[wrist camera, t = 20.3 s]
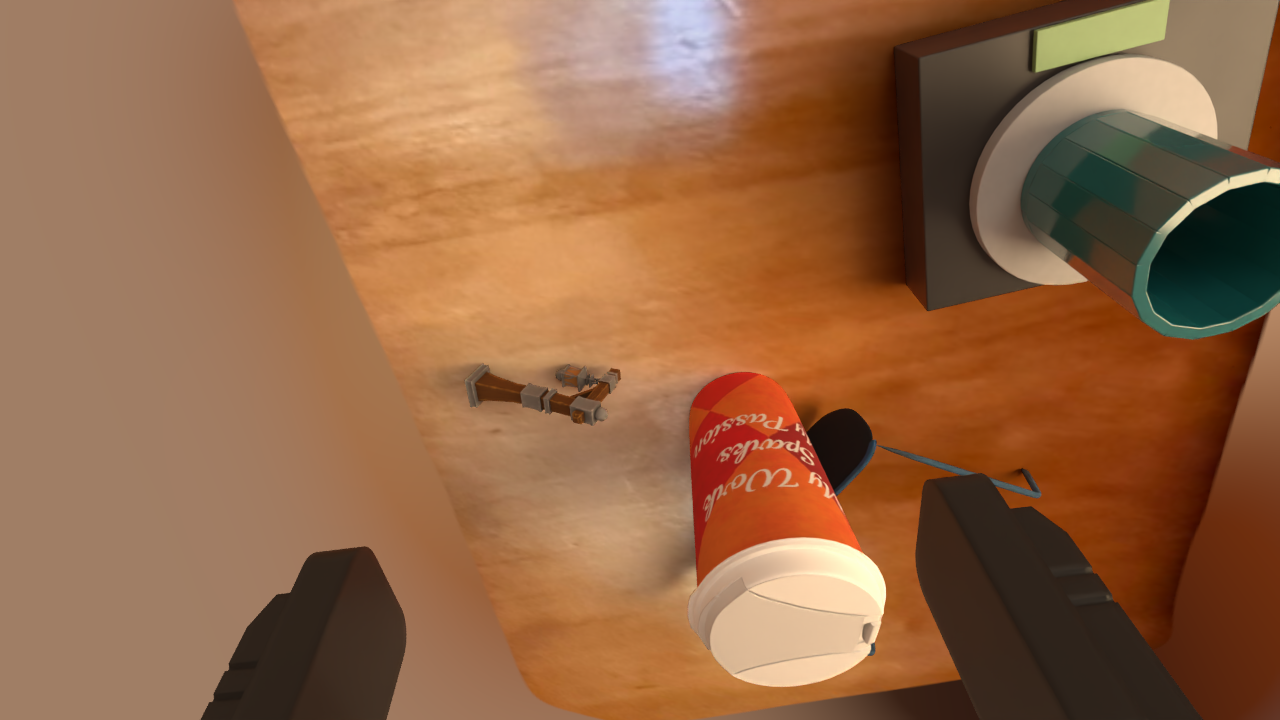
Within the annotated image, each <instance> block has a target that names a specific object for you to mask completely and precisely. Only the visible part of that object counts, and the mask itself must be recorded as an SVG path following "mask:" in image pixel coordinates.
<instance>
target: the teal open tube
mask: <svg viewBox="0 0 1280 720" xmlns="http://www.w3.org/2000/svg"><path fill="white" fill-rule="evenodd" d="M1021 212H1022V218H1023V220H1024V223H1025V225H1026V227H1027V229H1028V231H1029V232H1030V233H1031V234H1032V235H1033V237H1035V238H1036V239H1037V241H1038V242H1040V243H1041V244H1042V245H1044V246H1045V247H1046V248H1047V249H1049V250H1050V251H1051V252H1053V253H1054V254H1055V255H1057V256H1058V257H1059V258H1060V259H1062V260H1063V261H1064V262H1066V263H1067V264H1068V265H1069V266H1071V267H1072V268H1073V269H1075V270H1076V271H1077V272H1078V273H1080V274H1081V275H1082V276H1084V277H1085V278H1086V279H1087V280H1089V281H1090V282H1091V283H1093V284H1094V285H1095V286H1097V287H1098V288H1099V289H1100V290H1102V291H1103V292H1104V293H1106V294H1107V295H1108V296H1109V297H1111V298H1112V299H1113V300H1115V301H1116V302H1117V303H1118V304H1120V305H1121V306H1122V307H1124V308H1125V309H1126V310H1128V311H1129V312H1130V313H1131V314H1133V315H1134V316H1135V317H1137V318H1138V319H1139V320H1140V321H1142V322H1143V323H1145V324H1146V325H1148V326H1149V327H1151V328H1152V329H1154V330H1155V331H1157V332H1158V333H1160V334H1161V335H1163V336H1168V337H1177V338H1185V339H1193V340H1194V339H1200V338H1204V337H1209V336H1214V335H1218V334H1223V333H1227V332H1230V331H1233V330H1235V329H1237V328H1239V327H1241V326H1243V325H1245V324H1247V323H1249V322H1251V321H1253V320H1255V319H1257V318H1259V317H1261V316H1263V315H1265V314H1266V313H1268V312H1269V311H1271V310H1272V309H1273V308H1274V307H1275V306H1277V305H1278V304H1279V303H1280V163H1278V162H1276V161H1273V160H1270V159H1268V158H1265V157H1262V156H1260V155H1257V154H1254V153H1252V152H1249V151H1246V150H1244V149H1241V148H1238V147H1236V146H1233V145H1230V144H1228V143H1225V142H1222V141H1220V140H1217V139H1214V138H1212V137H1209V136H1207V135H1204V134H1201V133H1199V132H1196V131H1193V130H1191V129H1188V128H1185V127H1183V126H1180V125H1177V124H1175V123H1172V122H1169V121H1167V120H1164V119H1161V118H1159V117H1156V116H1153V115H1148V114H1144V113H1141V112H1138V111H1134V110H1127V109H1115V110H1107V111H1102V112H1099V113H1095V114H1092V115H1089V116H1087V117H1085V118H1083V119H1080V120H1078V121H1077V122H1075V123H1073V124H1071V125H1070V126H1068V127H1067V128H1065V129H1064V130H1063V131H1061V132H1060V133H1059V134H1058V135H1056V136H1055V137H1054V138H1053V139H1052V140H1051V141H1050V142H1049V143H1048V144H1047V145H1046V146H1045V147H1044V148H1043V150H1042V151H1041V152H1040V153H1039V155H1038V156H1037V158H1036V159H1035V161H1034V162H1033V164H1032V165H1031V167H1030V169H1029V171H1028V173H1027V176H1026V178H1025V181H1024V184H1023V188H1022V193H1021Z"/></svg>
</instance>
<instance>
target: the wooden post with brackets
mask: <svg viewBox="0 0 1280 720" xmlns="http://www.w3.org/2000/svg"><path fill="white" fill-rule="evenodd" d="M556 378H557V379H558V380H560V381H562V387H565V386H571V387H577V388H578V392H580V391H581V390H582V389H583V388H584V386H585V385H588V384H589V388H590V387H591V386H592V385H593V384H597V386H595V387H594V388H593V389H590V390H587V391H584V392H581V393H578V394H575V395H573V396H570V397H569V396H565V395H562V394H559V393H557V389H553V388H552V389H551V390H550V391H548V387H540V386H536V385H533V384H531V383H529V384H528V385H527V386H526V385H522V384H517V383H514V382H511V381H508V380H505V379H503V378H500V377H497V376H495V375H492V374H490V371H489V366H488V365H484V364H483V363H482V364H481V365H480V366H479V367H478V368H477V369H476V370H475V371H474V372H473V373H472V374H471V375H470V376H469V377H468V378H467V379H466V380H464V381H465V385H466V389H467V394H468V398H469V403H470V407H476V408H477V407H478V406H479V405H480V404H481V403H482V402H483V401H505V402H515V403H520V404H522V406H523V407H528V408H532V409H535V410H538V411H540V412H542V411H543V409H544V410H545V414H546V413H549V414H551V413H552V412H556V413H560V414H564V415H568V416H571V420H573V422H574V423H578V424H582V423H587V424H590V425H592V426H594V424H595V423H596V422H597V421H598V420H599V421H604V420H606V419H607V417H608V411H607V409H605V408H603V407H601V402H602V401H603V399H604V398H605V397H606V396H607V394H608V393H609V394H611V393H612V391H613V390H614V389H615V388H616V384H617V383H618V381H619V380H620V379H621V377H620V370H618V369H612V368H611V369H610V371H609V372H607V374H604V375H603V376H602V378H601V379H600V378H599V379H596V378H594V374H592V375H591V377H590V374H589V375H588V374H587V367H586V366H584V368H583V369H578V368H574V367H571V366H570V365H569V364H568V365H567V367H566V368H565V369H564V370H563V369H560V370H558V371H557V372H556ZM595 380H596V381H595ZM598 382H599V384H598Z"/></svg>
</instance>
